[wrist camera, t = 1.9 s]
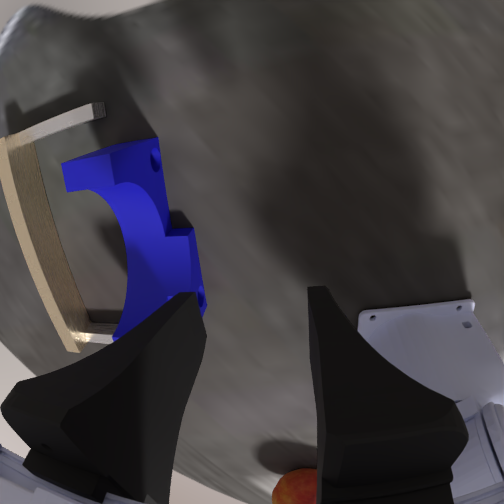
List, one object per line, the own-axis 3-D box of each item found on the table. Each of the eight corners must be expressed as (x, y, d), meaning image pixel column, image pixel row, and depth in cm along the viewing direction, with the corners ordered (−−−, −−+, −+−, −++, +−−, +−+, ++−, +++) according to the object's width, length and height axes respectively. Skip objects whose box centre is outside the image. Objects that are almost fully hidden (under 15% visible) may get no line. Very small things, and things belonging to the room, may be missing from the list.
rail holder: (104, 101, 17) (77, 104, 15) (163, 335, 25) (151, 360, 22) (19, 134, 19) (-7, 142, 16) (83, 330, 26) (67, 351, 24)
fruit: (342, 476, 34) (343, 527, 27) (284, 484, 36) (280, 533, 29) (330, 453, 31) (331, 513, 24) (264, 462, 33) (257, 518, 26)
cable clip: (207, 304, 23) (184, 362, 18) (151, 302, 24) (119, 354, 19) (182, 133, 18) (138, 148, 13) (117, 143, 19) (61, 163, 13)
